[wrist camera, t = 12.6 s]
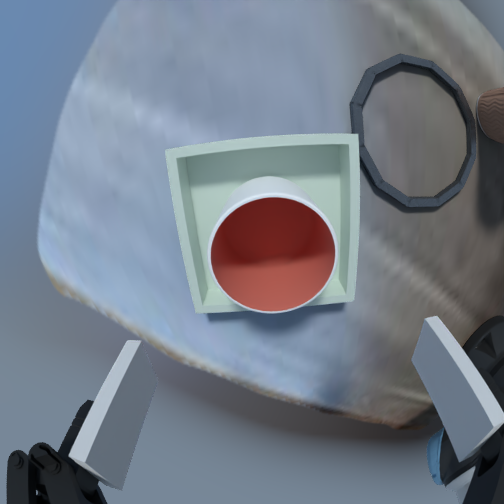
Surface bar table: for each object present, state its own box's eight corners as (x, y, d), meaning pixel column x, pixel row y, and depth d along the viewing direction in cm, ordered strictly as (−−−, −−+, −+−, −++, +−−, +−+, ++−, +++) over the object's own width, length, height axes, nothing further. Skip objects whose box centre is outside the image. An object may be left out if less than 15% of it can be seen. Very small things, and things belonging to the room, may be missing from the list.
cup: (303, 164, 27) (326, 178, 18) (321, 251, 31) (345, 298, 22) (211, 188, 28) (188, 213, 19) (237, 271, 32) (229, 324, 23)
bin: (344, 283, 33) (353, 301, 30) (202, 294, 34) (195, 313, 31) (345, 134, 26) (358, 133, 22) (177, 147, 27) (164, 149, 23)
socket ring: (468, 204, 28) (473, 206, 27) (353, 206, 29) (356, 208, 28) (465, 74, 21) (469, 73, 20) (342, 48, 22) (345, 45, 21)
